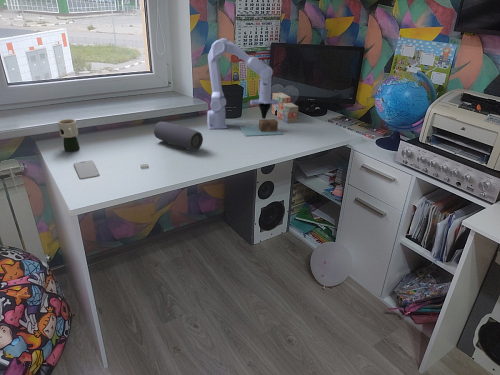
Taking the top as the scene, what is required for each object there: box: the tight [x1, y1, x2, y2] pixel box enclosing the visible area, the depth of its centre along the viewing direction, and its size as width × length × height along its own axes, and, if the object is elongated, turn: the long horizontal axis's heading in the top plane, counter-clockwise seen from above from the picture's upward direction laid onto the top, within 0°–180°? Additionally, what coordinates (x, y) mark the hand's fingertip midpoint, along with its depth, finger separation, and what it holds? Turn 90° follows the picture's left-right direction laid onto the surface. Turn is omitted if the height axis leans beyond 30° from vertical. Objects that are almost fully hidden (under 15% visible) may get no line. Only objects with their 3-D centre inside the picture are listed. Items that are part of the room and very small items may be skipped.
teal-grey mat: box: [239, 125, 284, 137], centre depth 198 cm, size 20×14×1 cm
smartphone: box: [73, 160, 100, 180], centre depth 147 cm, size 7×1×15 cm
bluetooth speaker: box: [153, 121, 204, 151], centre depth 172 cm, size 23×9×10 cm, turn 56°
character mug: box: [57, 118, 81, 152], centre depth 162 cm, size 11×7×13 cm, turn 33°
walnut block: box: [258, 118, 279, 132], centre depth 197 cm, size 5×5×9 cm
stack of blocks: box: [271, 92, 299, 124], centre depth 218 cm, size 21×6×12 cm, turn 22°
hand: (263, 118), depth 195 cm, fingers closed
